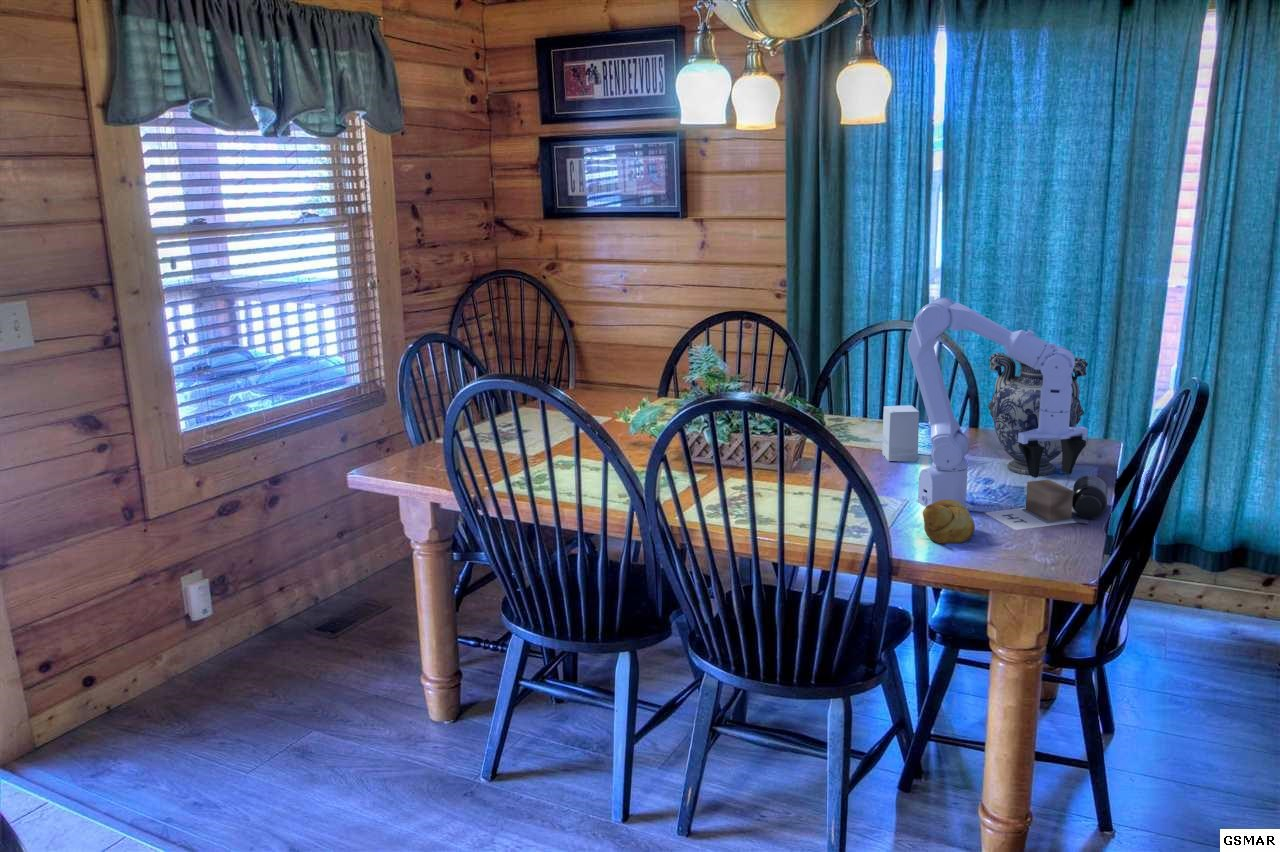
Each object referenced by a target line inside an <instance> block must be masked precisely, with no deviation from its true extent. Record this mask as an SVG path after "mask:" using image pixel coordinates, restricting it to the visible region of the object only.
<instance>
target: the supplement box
mask: <svg viewBox="0 0 1280 852" xmlns="http://www.w3.org/2000/svg"><path fill="white" fill-rule="evenodd" d="M882 414H883V415H882V419H883V423H882V425H883V426H882V451H881V453H882V456H883V457H884V456H885V457H884V458H885V459H886V460H887V461H888V462H889V461H897V462H917V461H918V456H919V455H918V453H919V429H920V427H919V425H920V411H919V410H918V409H917V408H916V407H914V406H913V405H908V404H907V405H905V404H904V405H887V406H886V405H885V406H883V413H882Z"/></svg>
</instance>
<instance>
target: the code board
mask: <svg viewBox="0 0 1280 852" xmlns="http://www.w3.org/2000/svg"><path fill="white" fill-rule="evenodd" d="M1022 509H1026V507H1022V508H1021V507H1020V508H1014V509H1013V508H1011V509H1003V510H994V511H987V512H984V514H985V515H988V516H989V517H991V518H993V519H994V520H997V521H998V522H1000V523H1002V524H1004V525H1005V526H1008V527H1009V528H1010V529H1013V530H1014V531H1018V530H1019V531H1020V530H1025V529H1026V530H1027V529H1034V528H1043V527H1049V526H1050V527H1051V526H1058V525H1066V524H1067V525H1068V524H1075V523H1077V521H1076V520H1073V521H1065V522H1056V523H1048V524H1047V523H1045V522H1043V521H1041V520H1039V519H1037V518H1036V517H1034V516H1032V515H1030V514H1028V513H1026V512H1024V511H1022Z"/></svg>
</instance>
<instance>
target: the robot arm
mask: <svg viewBox="0 0 1280 852" xmlns="http://www.w3.org/2000/svg"><path fill="white" fill-rule="evenodd" d="M949 328H950V329H949ZM947 329H949V330H950V332H954V331H955V332H956V331H963V330H964V331H965V330H967V331H969V332H972V333H975V334H977V335H978V336H981V337H983V338H985V339H988V340H990V341H992V342H995V343H996V344H998V345H1001V346H1003V348H1004V349H1005V352H1006V355H1007V356H1009V357H1010V358H1012V359H1013V360H1015V359H1016V360H1018V361H1020V362H1022V363H1024V364H1026V365H1028V366H1030V367H1032V368H1034V369H1036V370H1041V373H1042V375H1043V384H1042V386H1041V397H1040V410H1039V424H1038V429H1034V430H1030V431H1026V432H1020V433H1018V442H1019V445H1020V447H1021V449H1022V451H1023V453H1024V456H1025V459H1026V462H1027V466H1028V471H1029V475H1028V476H1030V477H1032V478H1033V479H1036V478H1037V479H1038V477H1039V476H1040V475H1039V467H1040V460H1041V456H1042V453H1043V450H1044V447H1042V446H1040V445H1039V444H1038V442H1040V441H1050V440H1061V446H1062V452H1061V454H1062V455H1061V456H1062V457H1061V471H1062V473H1064V474H1067V475H1071V474H1072V472H1073V469H1074V467H1075V464H1076V461H1077V459H1078V457H1079V455H1080V454H1081V452H1082V451H1083V450H1084V449H1085V447H1086V446H1087V441H1086V440H1085V439H1087V438H1088V432H1089V431H1088V430H1089V428H1086V427H1085V426H1076V427H1069V421H1070V409H1071V396H1072V387H1071V384H1072V375H1071V374H1073V373H1074V372H1073V368H1074V366H1075V359H1074V358H1075V356H1074V354H1073V353H1072V352H1071V351H1070V350H1068V349H1067V348H1066V347H1064V346H1057V343H1055V342H1054V341H1053V342H1051V343H1049V342H1047V341H1046V340H1044V339H1041V338H1040V337H1038V336H1036V335H1035V331H1033V330H1031V329H1028V330H1027V331H1026V330H1024V329H1020V330H1015V331H1011V330H1010V329H1008V328H1006V327H1004V326H1003V325H1000V323H997V322H995V321H993V320H992V319H990V318H988V317H986V316H984V315H983V314H981V313H979V312H978V311H976V310H973V309H972V308H971V307H968V306H967V305H964V304H962V303H959V302H954V301H953V300H952V299H950V298H947V297H939V298H936V299H934V300H932V301H931V302H930V303H927V304H926V305H924V306H923V307H922V308H920V310H919V312H918V313H917V314H916V315H915V317H914V318H913V324H912V329H911V332H910V336H909V338H908V342H907V349H908V354H909V357H910V361H911V363H912V366H913V367H912V368H913V369H914V374H915V377H916V381H917V383H918V388H919V390H920V394H921V397H922V400H923V404H924V407H925V412H926V415H927V417H928V421H929V424H930V441H931V445H932V446H931V451H930V457H931V460H932V462H931V465H930V466H929V467H925V468H923V469H921V471H920V472H919V475H918V490H917V491H918V494H917V500H916V502H917V503H918V504H920V505H922V506H923V507H924V508H926V507H927V506H928V505H930V504H933V503H935V502H937V501H940V500H949V499H950V500H954V501H957V502H959V503H960V504H962V505H963V506H964V507H966V508H967V509H973V508H974V506H973V505H971V504H970V503H968V502H967V487H968V485H967V484H968V467H969V466H968V463H967V462H966V459H965V457H966V456H967V454H968V453H969V451H970V447H971V446H970V441H969V438H968V437H967V436H966V435H965V434H964V432H963V431H962V429H961V426H960V423H959V422H958V421H957V420H956V418H955V415H954V411H953V408H952V406H951V405H952V404H951V402H950V401H951V400H950V398H949V395H948V391H947V388H946V385H945V381H944V378H943V374H942V371H941V368H940V363H939V361H938V357H937V354H936V351H935V346H936V344H937V343H938V341H939V340H940V339H941V337H942V335H943V333H944V332H945V331H946V330H947ZM1034 366H1035V367H1034Z"/></svg>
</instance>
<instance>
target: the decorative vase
mask: <svg viewBox="0 0 1280 852" xmlns="http://www.w3.org/2000/svg"><path fill="white" fill-rule="evenodd" d="M1074 359H1075V366H1074V368H1073V372H1072V374H1071V375H1072V384H1071V387H1072V396H1071V409H1070V421H1069V427H1077V425H1078V424H1079V423H1080V421H1081V416H1083V415H1084V414H1085V412H1084V410H1083V409H1084V408H1083V407H1082V406H1081V401H1080V399H1079V397H1080V385H1079V382H1078V378H1080V377H1083V376H1086V375H1087V367H1088V365H1089V363H1088V362H1087V361H1086V359H1085V358H1081V357H1079V356H1078V357H1074ZM988 360H989V363H990V366H989V370H991V371H995V372H997V375H998V376H997V378H996V380H995V384H994V393H993V394H992V396H991V401H990V402H989V403H988V404H989V405H988V407H987V408H988V410H989V411H990V412H989V415H990V416H991V418H992V420H993V425H994V430H995V433H996V437H997V439H998V441H999V443H1000V445H1001V447H1002V449H1003V450H1004V451H1005V452H1006V454H1007V455H1009V456H1010V457H1012V459H1013V460H1011V461H1009V462H1008V463H1007V465H1006V466H1007V467H1006V468H1007V470H1008V471H1010V472H1013V473H1015V474H1018V475H1024V474H1025V476H1030V475H1029V471H1028V466H1027V462H1026V459H1025V456H1024V453H1023V451H1022V449H1021V447H1020V445H1019V442H1018V433H1020V432H1026V431H1030V430H1034V429H1038V424H1039V410H1040V397H1041V386H1042V384H1043V375H1042V373H1041V370H1036V369H1034V368H1032V367H1030V366H1028V365H1026V364H1024V363H1022V362H1020V361H1018V360H1016V359H1014V358H1012V357H1010V356H1008V355H1007V354H1005V353H1004V352H1002V353H1001V352H996V353H992V354H991V356H990V357H989V358H988ZM1015 362H1016V363H1018V364H1019V365H1020V368H1021V369H1020V370H1019V373H1020V375H1016V370H1017V367H1016V363H1015ZM1002 367H1003V370H1002ZM1034 367H1035V366H1034ZM1038 444H1039V445H1040V446H1042V447H1044V450H1043V453H1042V456H1041V460H1040V467H1039V475H1038V476H1047V475H1046V474H1048V475H1051V474H1050V473H1052V474H1053V473H1055V472H1056V466H1055V465H1054V464H1053V463H1051V461H1053V460H1055V458H1057V457H1058V456H1059V455H1061V454H1062V446H1061V440H1050V441H1040V442H1038ZM1054 471H1055V472H1054Z"/></svg>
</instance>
